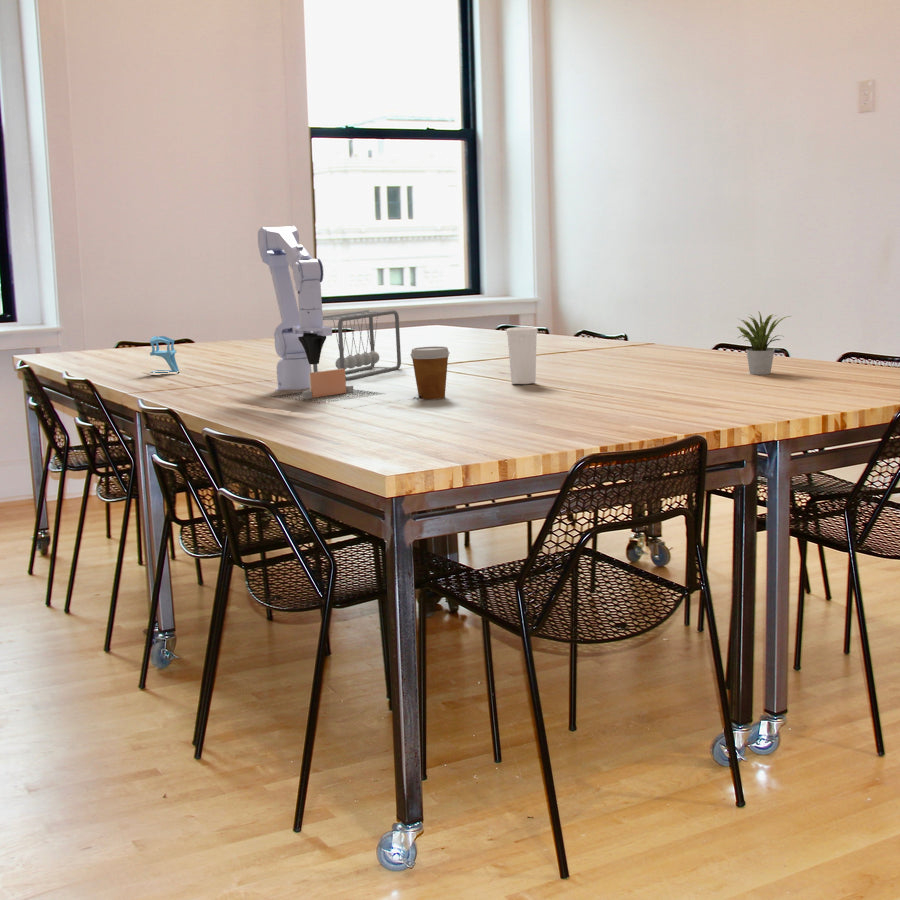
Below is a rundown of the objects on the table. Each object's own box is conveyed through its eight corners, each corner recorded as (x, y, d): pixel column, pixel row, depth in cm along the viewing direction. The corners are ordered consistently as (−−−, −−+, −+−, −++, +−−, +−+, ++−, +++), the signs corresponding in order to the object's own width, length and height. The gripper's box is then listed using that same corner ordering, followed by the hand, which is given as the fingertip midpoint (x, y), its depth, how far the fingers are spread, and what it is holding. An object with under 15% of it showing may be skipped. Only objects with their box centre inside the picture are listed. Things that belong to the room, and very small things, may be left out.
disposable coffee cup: (417, 402, 262) (415, 351, 260) (408, 397, 271) (405, 348, 269) (456, 398, 264) (454, 348, 262) (445, 394, 273) (443, 345, 271)
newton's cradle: (343, 382, 306) (339, 317, 303) (313, 381, 311) (309, 317, 308) (402, 369, 331) (399, 309, 328) (373, 368, 337) (369, 309, 333)
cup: (537, 385, 281) (535, 329, 278) (505, 386, 283) (503, 330, 280) (541, 381, 289) (539, 326, 286) (510, 382, 291) (508, 327, 288)
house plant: (787, 369, 292) (788, 306, 289) (798, 375, 279) (799, 310, 276) (732, 370, 294) (732, 308, 291) (740, 377, 280) (741, 312, 277)
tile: (310, 397, 270) (308, 372, 269) (344, 392, 276) (342, 368, 275) (312, 397, 269) (311, 373, 268) (346, 392, 275) (344, 368, 274)
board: (269, 400, 275) (268, 390, 274) (335, 390, 288) (334, 380, 287) (319, 408, 258) (318, 397, 258) (387, 397, 271) (386, 387, 271)
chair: (175, 375, 341) (172, 336, 338) (148, 376, 341) (145, 337, 339) (181, 372, 348) (178, 334, 346) (155, 373, 348) (152, 335, 346)
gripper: (280, 309, 276) (284, 364, 278) (313, 310, 265) (317, 367, 267) (304, 307, 280) (308, 361, 283) (337, 308, 269) (341, 364, 272)
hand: (314, 364), depth 275 cm, fingers closed
